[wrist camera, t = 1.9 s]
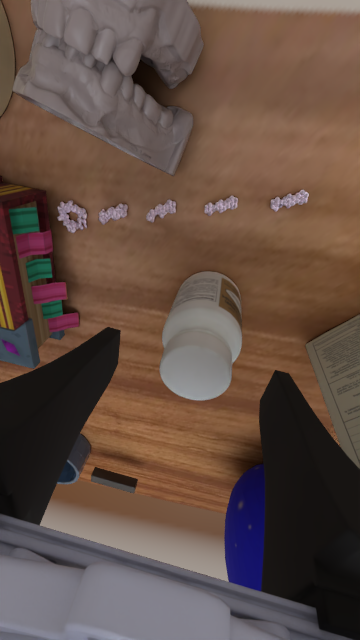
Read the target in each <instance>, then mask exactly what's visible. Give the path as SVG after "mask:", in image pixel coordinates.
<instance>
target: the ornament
mask: <svg viewBox="0 0 360 640" xmlns="http://www.w3.org/2000/svg"><path fill="white" fill-rule="evenodd" d="M264 522H265V476H264V464H259V465H255V466H254V467H252V468H250V469H249V470H247V471H246V472H245V473H244V474H243V475H242V476H241V477H240V479H239V480H238V481H237V483H236V484H235V486H234V488H233V491H232V493H231V496H230V500H229V504H228V507H227V513H226V519H225V560H226V567H227V573H228V580H229V582H230V583H234V584H237V585H240V586H244V587H247V588H250V589H254V590H257V591H260V592H261V584H262V568H263V550H264Z"/></svg>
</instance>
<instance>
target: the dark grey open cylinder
mask: <svg viewBox="0 0 360 640" xmlns="http://www.w3.org/2000/svg"><path fill="white" fill-rule="evenodd" d="M90 453H91V447H90V444H89V442H88V441H87V440H86V438H85V437H84V436H83V435H81V434H79V436H78V438H77V440H76V442H75V444H74V446H73V449H72V451H71V453H70V455H69V457H68V460H67V462H66V464H65V466H64V468H63V470H62V473H61V475H60V477H59V480H58V482H57V484H72V483H74V482H76V481H77V480H78V478H79V476H80V474H81V472H82V470H83V468H84V466H85V464H86V462H87V460H88V458H89V455H90Z"/></svg>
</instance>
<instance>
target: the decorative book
mask: <svg viewBox="0 0 360 640" xmlns="http://www.w3.org/2000/svg"><path fill="white" fill-rule="evenodd" d="M52 251H53V244H52V235H51V230H50V225H49V215H48V206H47V197H46V191H44V190H39V189H33V188H28V187H23V186H18V185H13V184H7V183H3V181H2V176H0V360H1V361H5V362H9V363H13V364H17V365H21V366H25V367H29V368H33V369H34V368H35V367H36V366H37V365H38V364H39V363H40V359H39V353H38V348H39V347H40V346H41V345H42V344H43V343H44V342H45V341H46V340H47V339H48V338H54V339H58V340H61V338H62V337H63V336H64V335H65V333H64V329H67V328H73V327H79V314H78V313H71V314H65V315H63V310H62V300H64V299H67V290H66V282H60V283H56V280H55V271H54V261H53V252H52Z"/></svg>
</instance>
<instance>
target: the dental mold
mask: <svg viewBox="0 0 360 640" xmlns="http://www.w3.org/2000/svg"><path fill="white" fill-rule="evenodd" d="M31 12H32V17H33V22H34V24H35V26H36V27H37V28H38V29H37V31H36V33H35V37H34V40H33V45H32V49H31V53H30V57H29V61H28V63H27V64H26V65H24V66H23V67H21V68H20V70H19V73H18V75H17V76H16V78H15V81H14V85H13V89H12V91H13V92H15V93H16V94H18V95H19V96H21V97H22V98H24V99H26V100H28V101H29V102H31V103H33V104H35V105H37V106H39V107H40V108H42V109H44V110H46V111H48V112H50V113H52V114H54V115H55V116H57V117H59V118H61V119H63V120H65V121H67V122H69V123H70V124H72V125H74V126H76V127H78V128H80V129H82V130H84V131H86V132H88V133H90V134H91V135H93V136H95V137H97V138H99V139H101V140H103V141H105V142H107V143H109V144H111V145H113V146H115V147H117V148H118V149H120V150H122V151H124V152H126V153H128V154H130V155H132V156H134V157H136V158H138V159H140V160H142V161H143V162H145V163H147V164H149V165H151V166H153V167H155V168H157V169H160V170H162V171H164V172H166V173H168V174H170V175H172V176H174V175H175V172H176V170H177V167H178V165H179V162H180V160H181V157H182V155H183V152H184V149H185V147H186V144H187V141H188V139H189V136H190V133H191V130H192V127H193V116H192V114H191V113H190V112H187V111H186V110H183V109H181V108H180V107H176V106H168V107H167V108H165V107H164V106H162V105H159V104H158V103H157V102H156V101H155V100H154V98H153V97H151V96H150V95H149V94H146V93H145V91H144V90H143V88H142V87H141V86H140V85H139V84H133V80H132V77H131V75H132V74H133V73H134V72H135V71H136V69H137V66H138V64H139V60H140V59H141V60H142V61H143V62H144V63H146V64H148V65H149V66H151V67H153V68H155V70H156V72H157V73H158V75H159V76H160V78H161V79H162V81H163V82H164V83H165V85H166V86H167V87H168V88H170V89H173V88H175V87H176V86H177V85H178V84H179V83H180V82H181V81H183V80H184V79H185V78H186V77H187V76H188V74H191V73H192V71H193V69H194V67H195V65H196V63H197V61H198V58H199V56H200V53H201V51H202V48H203V46H204V43H203V41H202V39H201V27H200V25H199V22H198V20H197V18H196V16H195V15H194V13H193V11H192V9H191V8H190V6H189V4H188V2H187V0H31ZM112 55H113V56H112Z"/></svg>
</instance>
